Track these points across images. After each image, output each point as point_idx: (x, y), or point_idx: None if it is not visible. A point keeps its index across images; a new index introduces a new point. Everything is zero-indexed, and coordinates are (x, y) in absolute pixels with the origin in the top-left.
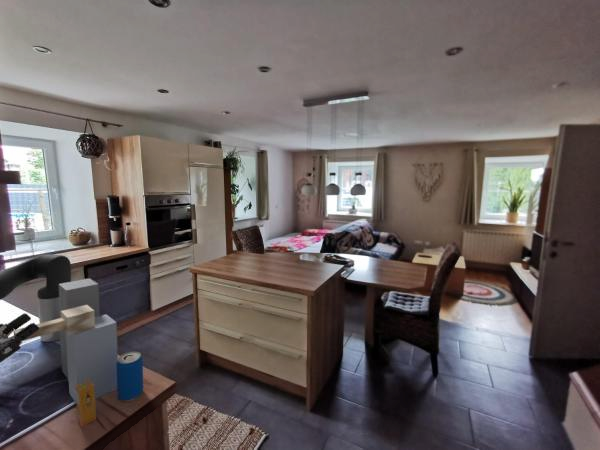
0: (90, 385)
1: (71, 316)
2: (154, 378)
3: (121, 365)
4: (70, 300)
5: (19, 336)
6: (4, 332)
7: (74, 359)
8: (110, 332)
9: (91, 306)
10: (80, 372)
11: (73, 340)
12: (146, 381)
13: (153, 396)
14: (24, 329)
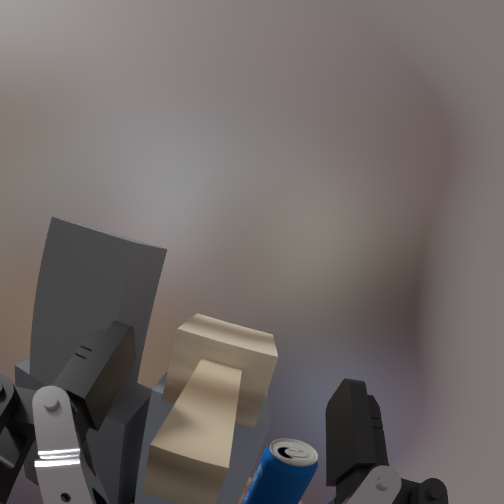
0: None
1: (276, 352)
2: (249, 478)
3: (305, 470)
4: (127, 288)
5: (384, 460)
6: (29, 439)
7: (228, 492)
8: None
9: (142, 322)
10: None
11: (249, 441)
12: (245, 486)
13: (300, 501)
14: (368, 419)
